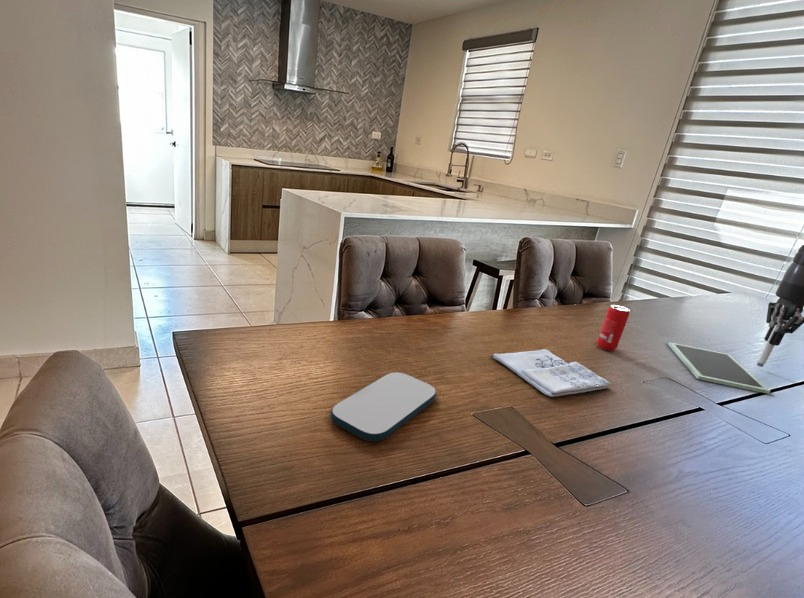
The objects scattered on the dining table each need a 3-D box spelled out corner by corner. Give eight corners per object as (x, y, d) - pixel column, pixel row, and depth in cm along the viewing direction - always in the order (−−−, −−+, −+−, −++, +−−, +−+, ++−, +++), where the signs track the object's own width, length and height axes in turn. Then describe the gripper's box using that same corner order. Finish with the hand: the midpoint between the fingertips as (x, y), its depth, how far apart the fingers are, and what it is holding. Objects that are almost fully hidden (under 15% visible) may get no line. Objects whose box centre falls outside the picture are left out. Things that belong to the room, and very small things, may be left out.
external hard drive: (375, 449, 78) (376, 439, 77) (322, 419, 84) (323, 410, 83) (440, 398, 96) (442, 389, 95) (393, 376, 102) (395, 368, 101)
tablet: (728, 356, 137) (729, 353, 136) (769, 394, 116) (770, 390, 116) (667, 344, 140) (669, 341, 140) (697, 379, 119) (699, 375, 119)
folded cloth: (550, 400, 100) (553, 391, 100) (489, 357, 117) (491, 349, 116) (611, 389, 108) (614, 381, 107) (546, 351, 125) (548, 343, 124)
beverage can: (592, 342, 135) (606, 303, 130) (610, 344, 135) (624, 305, 130) (600, 350, 130) (615, 310, 125) (619, 352, 130) (634, 312, 125)
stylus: (761, 365, 131) (781, 325, 126) (765, 367, 129) (785, 327, 125) (754, 363, 131) (773, 324, 127) (757, 366, 130) (777, 326, 125)
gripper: (835, 292, 114) (801, 356, 121) (802, 277, 126) (773, 336, 133) (799, 286, 116) (768, 349, 122) (770, 273, 128) (743, 331, 135)
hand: (771, 342), depth 128 cm, fingers closed on stylus, 2 cm apart
